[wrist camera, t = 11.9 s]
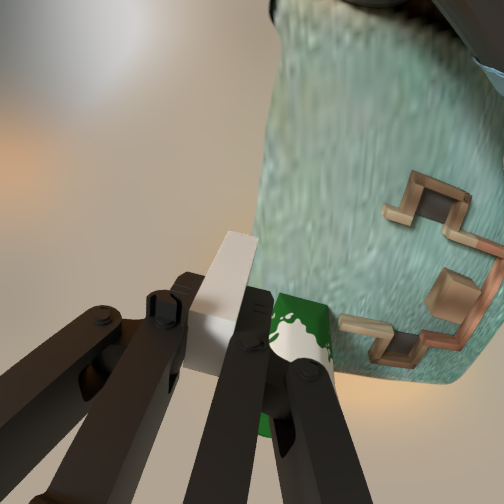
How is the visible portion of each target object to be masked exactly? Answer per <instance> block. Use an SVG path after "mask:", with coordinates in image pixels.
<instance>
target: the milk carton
mask: <svg viewBox="0 0 504 504" xmlns="http://www.w3.org/2000/svg"><path fill="white" fill-rule="evenodd" d="M269 344H270V347H271V349H272V350H273V351H274V352H275V353H276V354H277V355H278V356H280V357H282V358H283V359H285V360H288V361H290V362H292V361H294V360H295V359H297V358H304V357H305V358H310V359H314V360H316V361H318V362H320V363H321V364H322V365H323V366H324V367H325V368H326V370H327V371H328V373H329V376H330V379H331V381H332V384H333V387H334V390H335V393H336V389H335V382H334V370H333V358H332V347H331V337H330V327H329V319H328V310H327V305H324V304H320V303H317V302H313V301H309V300H305V299H301V298H297V297H294V296H290V295H286V294H282V293H279V296H278V298H277V301H276V303H275V306H274V308H273V312H272V319H271V327H270V335H269ZM336 395H337V393H336ZM337 398H338V396H337ZM338 401H339V400H338ZM258 435H260V436H263V437H267V438H272V437H271V431H270V425H269V419H268V415H266V414H264V413H262V412H261V417H260V423H259V430H258Z"/></svg>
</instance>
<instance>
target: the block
mask: <svg viewBox="0 0 504 504" xmlns="http://www.w3.org/2000/svg"><path fill="white" fill-rule="evenodd" d="M480 294H481V291H480V289H479V288H478V287H477V285H476V284H475V283H474V282H473V280H472V279H471V278H469V277H466V276H464V275H461V274H459V273H457V272H454V271H452V270H449V269H447V268H444V267H443V269H442V271H441V273H440V274H439V276H438V278H437V280H436V281H435V283H434V285H433V287H432V288H431V290H430V292H429V293H428V295H427V297H426V298H425V300H424V302H425V303H426V305H427V307H428V309H429V311H430V313H431V315H432V316H434V317H438V318H441V319H444V320H447V321H450V322H453V323H457V324H460V325H461V323H462V322H463V320H464V319H465V317H466V316H467V314H468V313H469V311H470V310H471V308H472V307H473V305H474V303H475V302H476V300H477V299H478V297H479V295H480Z"/></svg>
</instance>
